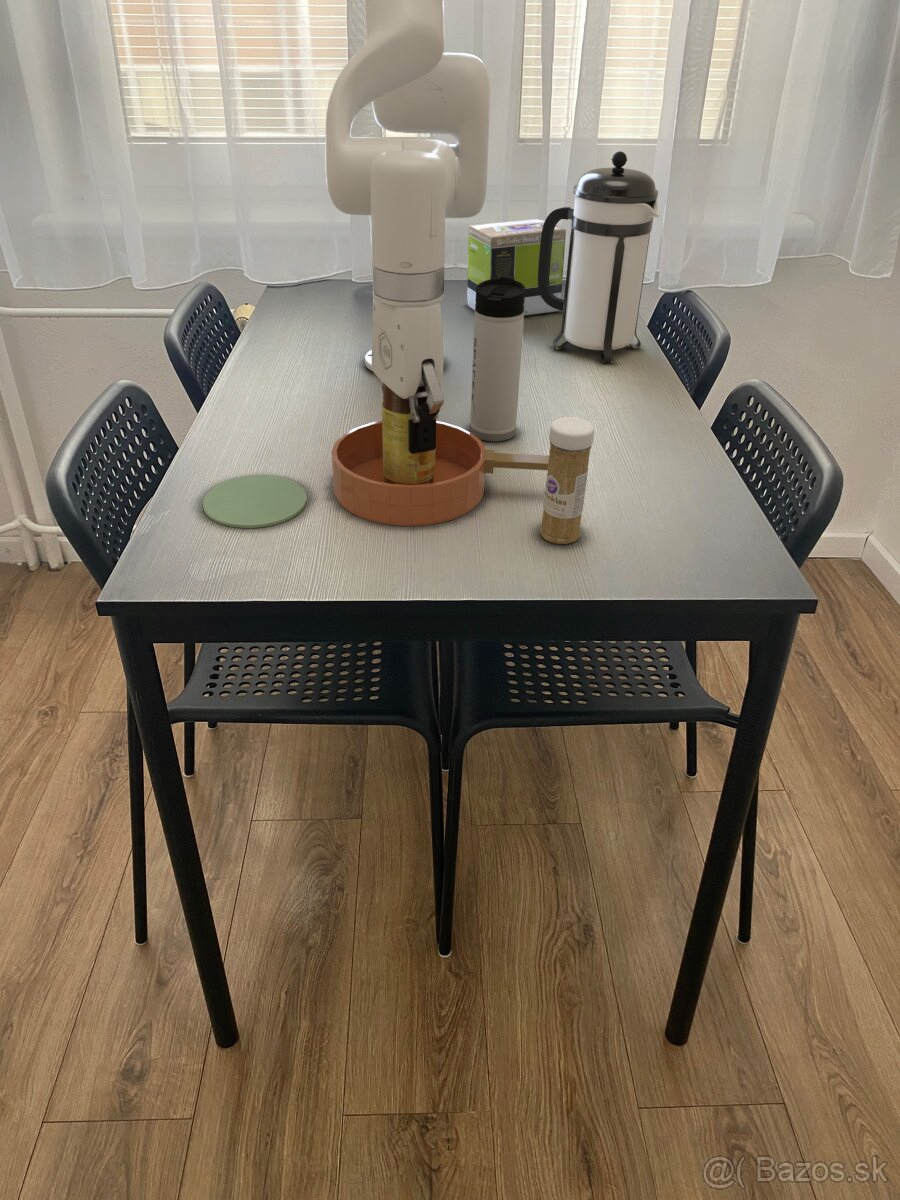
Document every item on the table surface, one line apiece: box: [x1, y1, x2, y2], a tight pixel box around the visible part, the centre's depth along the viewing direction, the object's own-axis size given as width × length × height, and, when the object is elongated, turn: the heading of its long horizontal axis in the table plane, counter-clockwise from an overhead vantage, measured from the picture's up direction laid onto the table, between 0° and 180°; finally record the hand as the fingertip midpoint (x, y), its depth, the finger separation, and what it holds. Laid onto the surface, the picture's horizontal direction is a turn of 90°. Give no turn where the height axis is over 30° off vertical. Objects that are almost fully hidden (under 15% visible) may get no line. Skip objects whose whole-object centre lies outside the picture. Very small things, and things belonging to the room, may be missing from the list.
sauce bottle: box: [381, 383, 435, 485], centre depth 101 cm, size 7×6×20 cm
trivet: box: [202, 474, 308, 529], centre depth 103 cm, size 12×12×1 cm
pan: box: [331, 420, 486, 527], centre depth 106 cm, size 18×18×5 cm
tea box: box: [466, 218, 567, 317], centre depth 160 cm, size 15×10×15 cm
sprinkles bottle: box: [539, 416, 595, 545], centre depth 95 cm, size 5×5×13 cm
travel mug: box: [469, 276, 525, 443], centre depth 115 cm, size 6×7×20 cm
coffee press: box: [538, 151, 661, 364], centre depth 140 cm, size 17×16×30 cm
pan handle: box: [484, 448, 549, 475], centre depth 104 cm, size 11×3×2 cm, turn 86°
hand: (409, 437), depth 103 cm, fingers open, 6 cm apart
